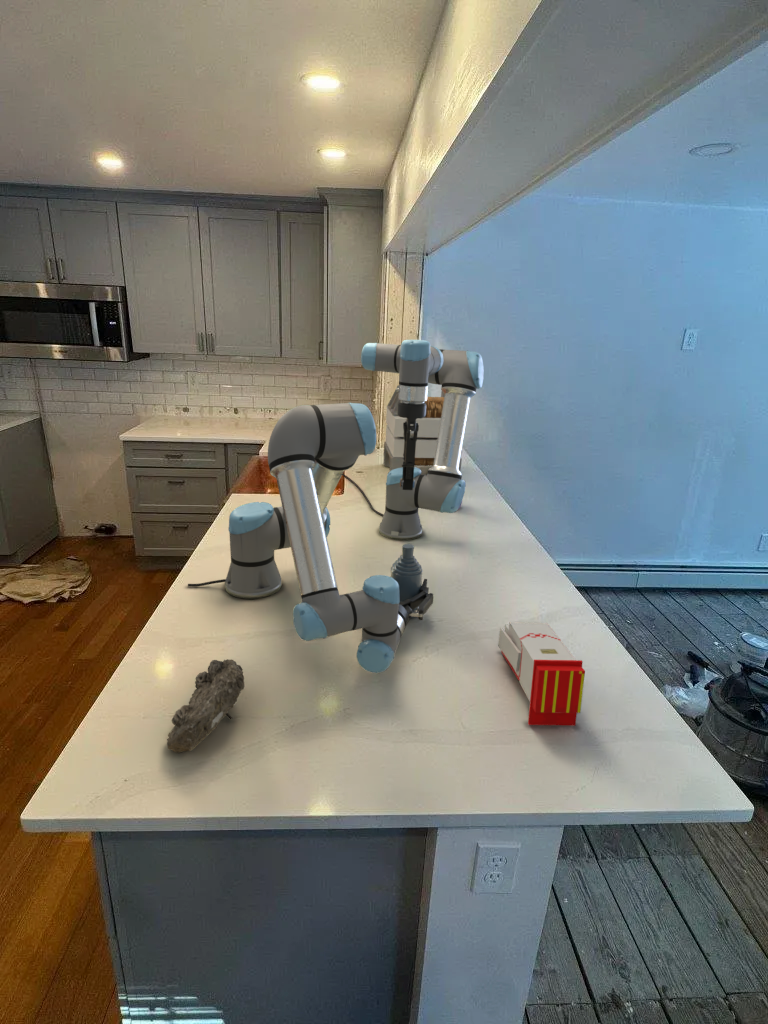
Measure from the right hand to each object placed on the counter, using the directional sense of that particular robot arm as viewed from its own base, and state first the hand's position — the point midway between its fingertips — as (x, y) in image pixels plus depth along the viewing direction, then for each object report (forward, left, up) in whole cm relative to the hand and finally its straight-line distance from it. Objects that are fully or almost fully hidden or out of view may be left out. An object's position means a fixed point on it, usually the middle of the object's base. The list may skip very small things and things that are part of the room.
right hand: (407, 486), depth 156 cm
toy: (+53, -10, -29) cm, 61 cm away
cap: (0, 0, +2) cm, 2 cm away
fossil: (+21, -68, -29) cm, 77 cm away
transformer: (-80, +85, -29) cm, 120 cm away
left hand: (+11, -7, -22) cm, 26 cm away
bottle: (+13, -11, -29) cm, 34 cm away
